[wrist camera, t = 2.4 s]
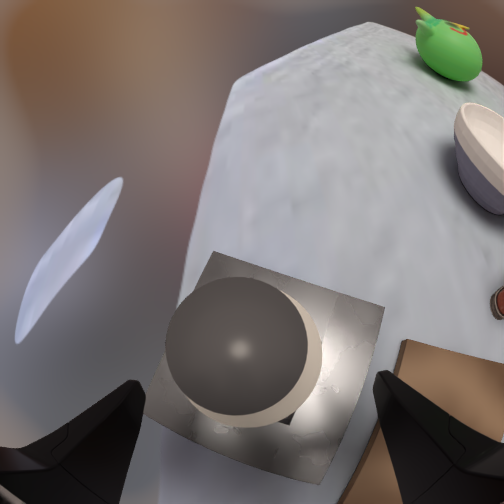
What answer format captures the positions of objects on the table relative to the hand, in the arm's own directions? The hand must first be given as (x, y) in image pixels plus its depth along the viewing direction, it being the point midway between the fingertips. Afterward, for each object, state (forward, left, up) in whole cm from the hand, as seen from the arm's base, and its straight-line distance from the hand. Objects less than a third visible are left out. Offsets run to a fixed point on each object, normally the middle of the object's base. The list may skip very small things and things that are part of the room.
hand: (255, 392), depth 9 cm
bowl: (+27, -19, -9) cm, 34 cm away
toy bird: (+64, -18, -9) cm, 67 cm away
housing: (+1, 0, -9) cm, 9 cm away
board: (-1, -16, -9) cm, 18 cm away
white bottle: (+1, 0, -9) cm, 9 cm away
